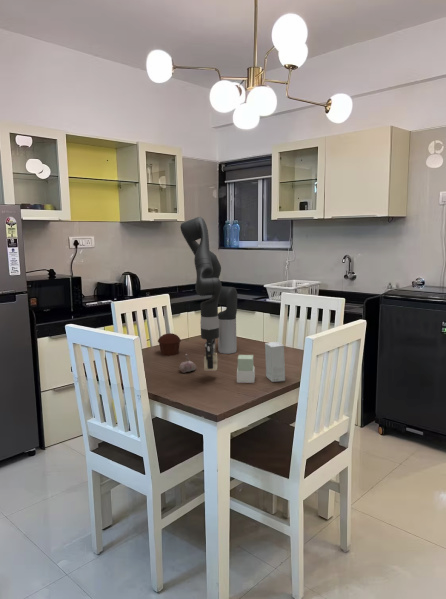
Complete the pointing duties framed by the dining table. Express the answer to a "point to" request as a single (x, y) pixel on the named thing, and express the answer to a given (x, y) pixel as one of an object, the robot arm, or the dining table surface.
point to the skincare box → (275, 361)
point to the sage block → (245, 363)
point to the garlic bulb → (187, 366)
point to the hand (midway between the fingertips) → (211, 366)
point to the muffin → (169, 344)
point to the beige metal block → (215, 363)
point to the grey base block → (246, 376)
